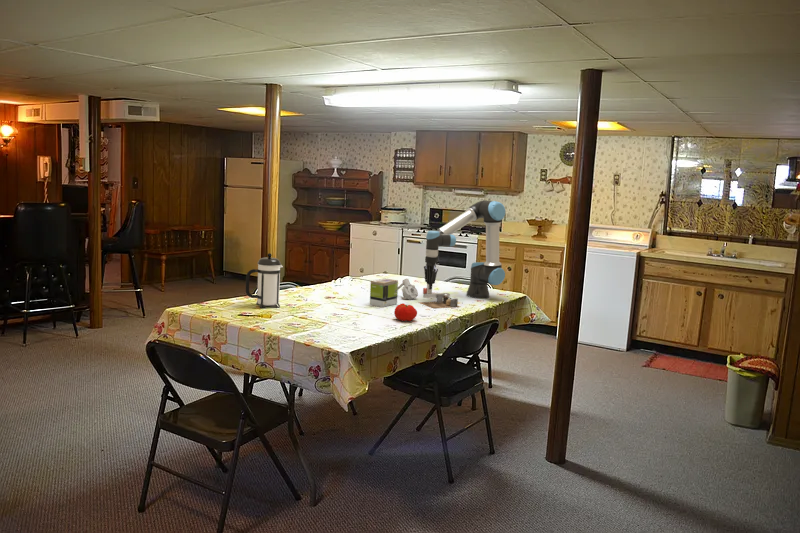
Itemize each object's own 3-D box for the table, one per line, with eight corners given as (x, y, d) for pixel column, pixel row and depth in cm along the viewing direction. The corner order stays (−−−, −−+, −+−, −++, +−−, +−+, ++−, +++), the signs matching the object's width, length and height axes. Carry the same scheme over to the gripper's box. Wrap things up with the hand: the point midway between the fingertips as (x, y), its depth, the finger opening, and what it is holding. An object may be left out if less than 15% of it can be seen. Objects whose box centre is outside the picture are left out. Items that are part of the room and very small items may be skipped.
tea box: (384, 301, 386) (385, 277, 384) (397, 304, 381) (398, 280, 379) (369, 304, 374) (370, 280, 372) (382, 307, 369) (383, 282, 367)
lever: (447, 301, 388) (448, 287, 387) (450, 303, 383) (451, 289, 382) (421, 301, 384) (422, 287, 383) (423, 302, 379) (424, 289, 378)
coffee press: (264, 302, 364) (265, 250, 360) (286, 305, 357) (288, 253, 353) (244, 306, 348) (245, 253, 344) (267, 310, 342) (269, 256, 337)
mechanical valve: (409, 297, 391) (401, 276, 397) (392, 311, 402) (385, 290, 408) (421, 296, 398) (412, 276, 404) (404, 310, 409) (396, 290, 415)
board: (444, 302, 394) (445, 294, 393) (461, 308, 378) (462, 299, 377) (417, 304, 384) (418, 295, 383) (433, 310, 368) (434, 301, 367)
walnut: (449, 304, 382) (450, 298, 382) (453, 306, 379) (454, 299, 378) (444, 305, 380) (444, 298, 380) (448, 306, 377) (448, 299, 376)
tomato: (419, 322, 335) (420, 307, 334) (397, 323, 332) (398, 307, 330) (412, 317, 347) (413, 302, 346) (390, 317, 344) (391, 302, 342)
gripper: (420, 254, 387) (418, 292, 391) (432, 257, 376) (429, 296, 379) (431, 254, 391) (428, 292, 394) (442, 257, 380) (439, 296, 383)
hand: (429, 294), depth 387 cm, fingers closed
